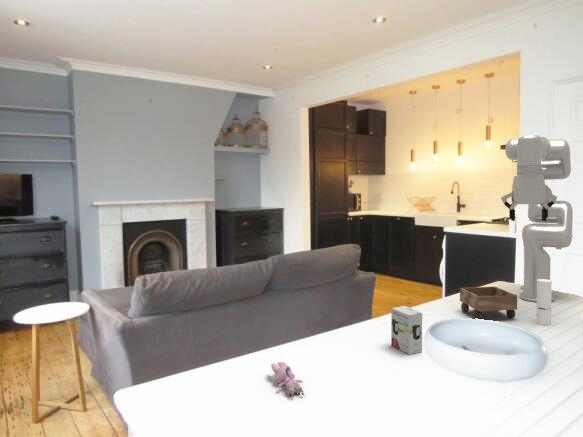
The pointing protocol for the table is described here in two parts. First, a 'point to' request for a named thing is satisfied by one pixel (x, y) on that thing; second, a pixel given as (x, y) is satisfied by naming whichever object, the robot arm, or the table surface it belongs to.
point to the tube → (543, 302)
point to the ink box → (406, 329)
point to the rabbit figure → (286, 378)
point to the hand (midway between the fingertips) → (528, 220)
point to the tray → (488, 300)
